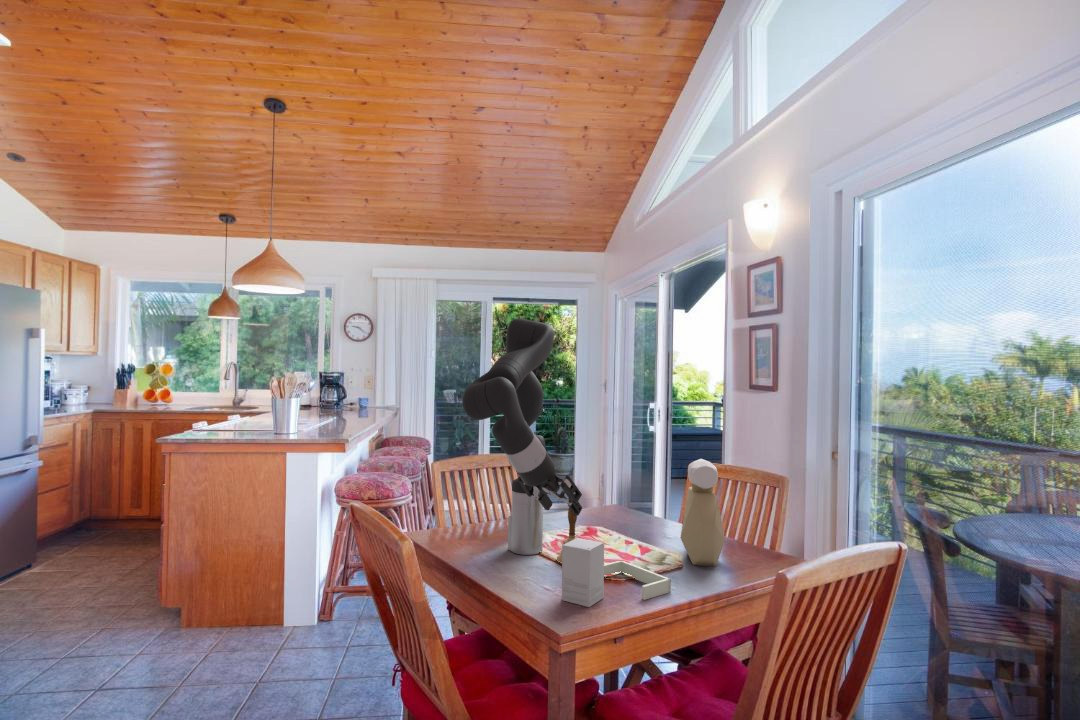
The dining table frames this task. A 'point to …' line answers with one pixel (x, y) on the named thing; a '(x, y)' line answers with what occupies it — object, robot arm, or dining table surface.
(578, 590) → the supplement box
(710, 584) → the dining table surface
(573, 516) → the hand bell
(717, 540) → the perfume bottle
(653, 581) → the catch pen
